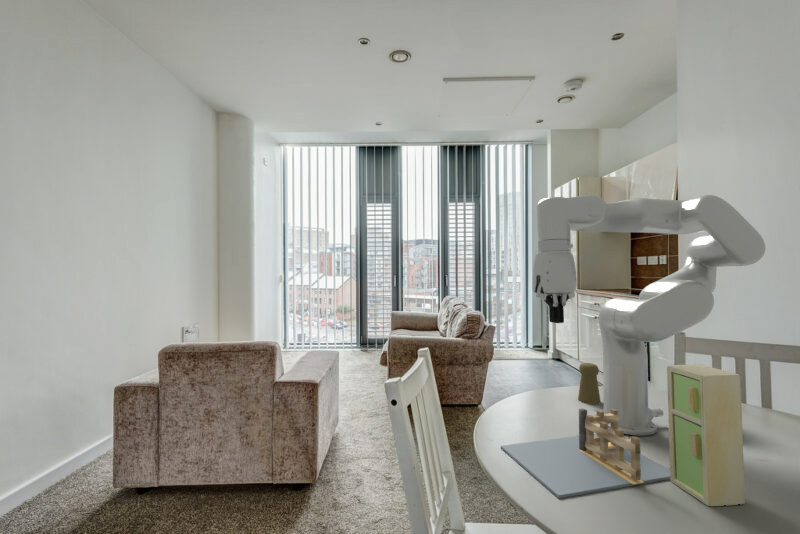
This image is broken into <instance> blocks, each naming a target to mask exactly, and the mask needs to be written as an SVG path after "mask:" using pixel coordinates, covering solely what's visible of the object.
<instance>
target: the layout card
mask: <svg viewBox="0 0 800 534" xmlns="http://www.w3.org/2000/svg"><path fill="white" fill-rule="evenodd" d="M596 435H597V434H596V433H594V436H596ZM500 449H501V450H502V451H503V452H504V453H506V454H507V455H508V456H509V457H510V458H511V459H512V460H514V461H515V462H516V463H517V464H518V465H519V466H521V467H522V468H523V469H524V470H525V471H526V472H527V473H529V474H530V476H532V477H533V478H534V479H535V480H537V481H538V483H540V484H541V485H542V486H544V488H546V489H547V490H548V491H549V492H550V493H552V494H553V495H554V496H555V497H556V498H557V499H562V498H567V497H568V498H569V497H574V496H580V495H587V494H592V493H597V492H603V491H604V492H605V491H609V490H610V491H611V490H616V489H620V488H625V487H626V488H627V487H631V486H632V487H633V486H638V485H643V484H651V483H656V482H660V481H667V480H671V477H670V467H669V468H668V467H667V466H664V465H663V464H662V463H659V462H657V461H655V460H653V459H651V458H649V457H648V456H646V455H643V454H642V453H640V469H641V480H635V479H633V478H631V474H630V473H628V472H626V471H625V470H618V469H616V468H615V465H614V464H613V463H611V462H609V461H603V460H601V459H600V456H599V455H598V454H596V453H594V452H588V451H583V450H580V449H579V435H576V436H566V437H559V438H551V439H544V440H538V441H537V440H536V441H530V442H529V441H527V442H522V443H521V442H520V443H514V444H505V445H500ZM608 451H609V452H611V453H613V454H615V446H614V445H612V444H611V442H608ZM624 460H625V461H627V462H629V463H631V452H630V451H628V450H626V449H624Z"/></svg>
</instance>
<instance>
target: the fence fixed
mask: <svg viewBox="0 0 800 534" xmlns="http://www.w3.org/2000/svg"><path fill="white" fill-rule="evenodd" d="M586 415H588V410H587V409H586V408H579V409H578V436H579V449H580V450H583V451H587V450H586V447H585V441H586V428H585V420H586ZM590 415H591V414H590ZM591 416H593V417H594V422H596V423H598V424H600V422H606V423H611V430H612V431H614V432H615V429H618V422H619V415H618V410H616V409H611V413H608V414H604V410H596V414H592V415H591ZM608 442H611V441H609V440H608ZM594 443H595V444H597V445H599V446H600V435H598V434H597V435H596V436H594ZM611 444H612V445H614V446H615V443H613V442H611Z"/></svg>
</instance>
